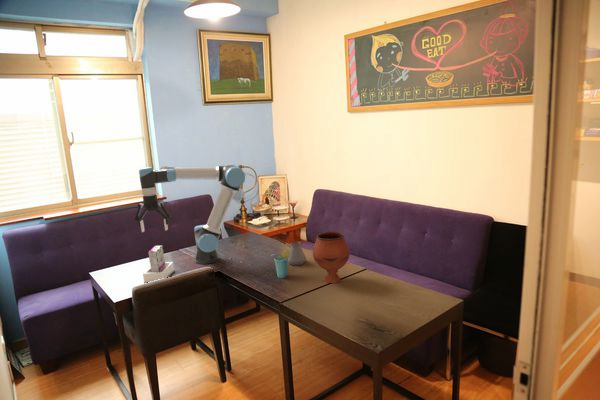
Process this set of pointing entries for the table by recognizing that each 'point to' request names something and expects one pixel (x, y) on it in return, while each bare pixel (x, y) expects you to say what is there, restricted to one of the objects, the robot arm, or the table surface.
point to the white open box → (158, 273)
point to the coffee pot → (295, 253)
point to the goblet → (331, 254)
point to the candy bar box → (157, 259)
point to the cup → (281, 264)
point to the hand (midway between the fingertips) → (154, 230)
